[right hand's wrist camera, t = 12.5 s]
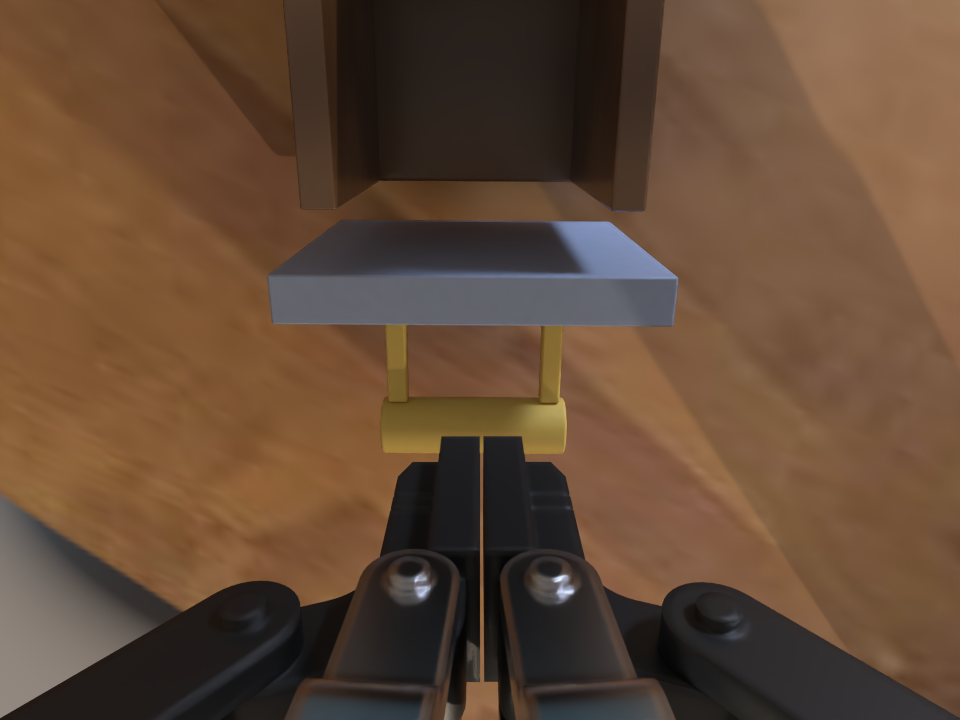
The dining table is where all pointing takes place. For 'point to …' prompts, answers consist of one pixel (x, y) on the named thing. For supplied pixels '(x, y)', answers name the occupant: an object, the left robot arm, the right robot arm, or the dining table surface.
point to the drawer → (473, 157)
